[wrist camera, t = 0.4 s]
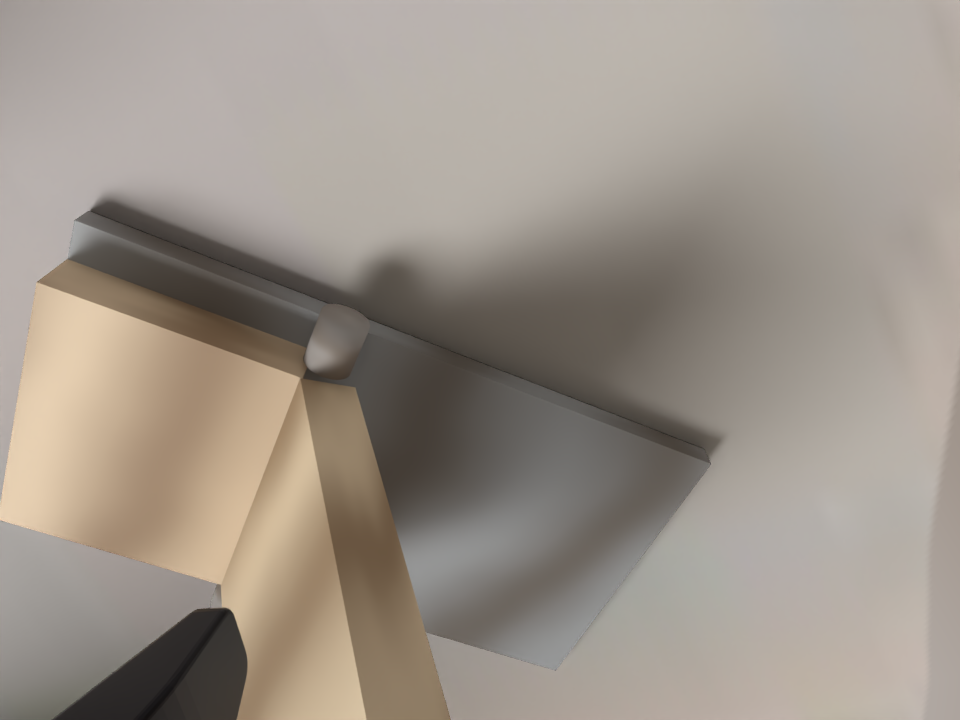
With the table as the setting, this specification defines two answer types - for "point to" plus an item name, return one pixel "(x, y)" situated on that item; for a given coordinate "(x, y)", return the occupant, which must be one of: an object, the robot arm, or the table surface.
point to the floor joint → (258, 420)
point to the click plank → (327, 579)
